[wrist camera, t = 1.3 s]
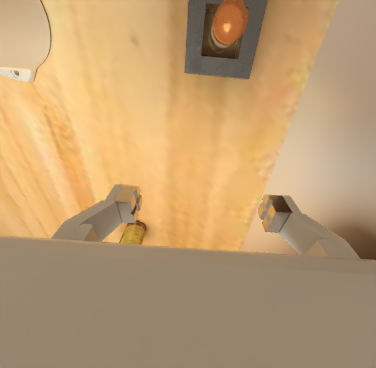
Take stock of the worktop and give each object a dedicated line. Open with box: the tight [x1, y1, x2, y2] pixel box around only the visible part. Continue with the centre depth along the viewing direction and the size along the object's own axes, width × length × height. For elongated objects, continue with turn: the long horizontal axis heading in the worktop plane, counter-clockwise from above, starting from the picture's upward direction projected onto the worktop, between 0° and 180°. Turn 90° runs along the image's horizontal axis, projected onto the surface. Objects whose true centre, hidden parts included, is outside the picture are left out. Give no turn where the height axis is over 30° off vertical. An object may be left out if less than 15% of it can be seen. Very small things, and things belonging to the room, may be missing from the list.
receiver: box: [185, 0, 267, 79], centre depth 27 cm, size 11×11×4 cm
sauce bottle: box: [119, 221, 146, 245], centre depth 46 cm, size 7×6×20 cm
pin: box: [208, 0, 248, 53], centre depth 24 cm, size 4×4×10 cm
